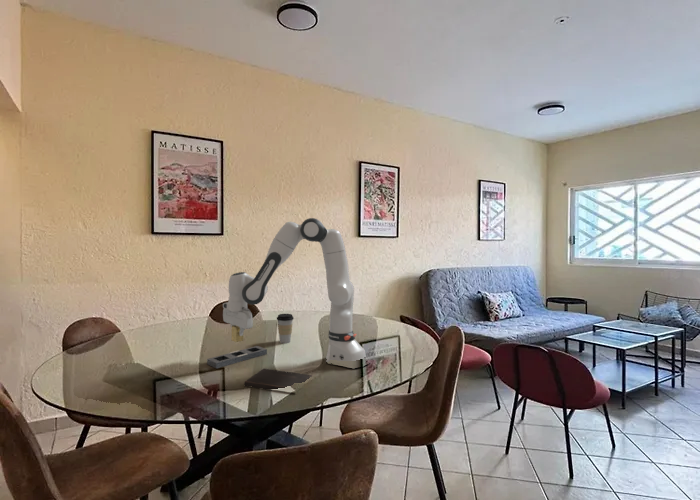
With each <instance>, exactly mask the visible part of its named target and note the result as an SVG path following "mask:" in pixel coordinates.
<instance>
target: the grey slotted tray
mask: <svg viewBox="0 0 700 500" xmlns="http://www.w3.org/2000/svg"><path fill="white" fill-rule="evenodd" d="M265 355H268V349H267V348H264V347H262V346H259V345H254V346H251V347H248V348H244V349H240V350H238V349H237V350H234V351H231V352H229V353H225V354H221V355H220V354H219V355H218V356H214V357H213V356H212V357H210V358H207V359H206V361H207V362H206V364H207V365H208V366H210V367H212V368H215V369H220V368H222V367H227V366H230V365H233V364H237V363H240V361H241V362H244V361H248V360H251V359H254V358H258V357H261V356H265ZM243 360H244V361H243Z"/></svg>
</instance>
